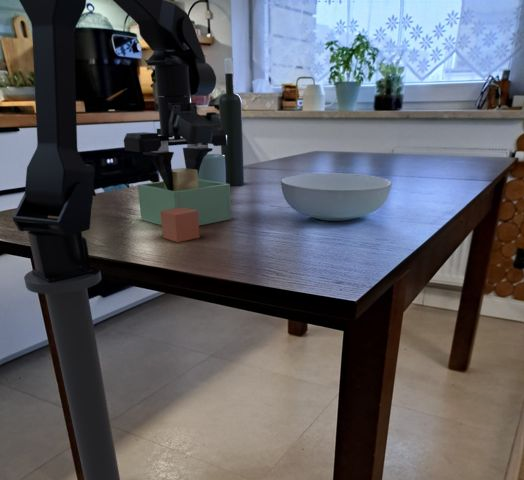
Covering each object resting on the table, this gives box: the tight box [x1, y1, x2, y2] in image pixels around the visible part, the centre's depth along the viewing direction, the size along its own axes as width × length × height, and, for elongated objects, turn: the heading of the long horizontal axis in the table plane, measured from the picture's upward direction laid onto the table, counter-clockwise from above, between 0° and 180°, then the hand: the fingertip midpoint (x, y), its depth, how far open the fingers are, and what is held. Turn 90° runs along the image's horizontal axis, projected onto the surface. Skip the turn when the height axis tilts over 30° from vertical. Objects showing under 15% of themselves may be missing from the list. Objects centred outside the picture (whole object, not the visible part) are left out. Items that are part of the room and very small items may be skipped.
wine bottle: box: [218, 57, 245, 187], centre depth 134 cm, size 6×6×30 cm
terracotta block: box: [160, 207, 201, 243], centre depth 87 cm, size 4×4×4 cm
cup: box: [198, 153, 226, 183], centre depth 115 cm, size 8×8×10 cm
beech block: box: [165, 167, 198, 191], centre depth 96 cm, size 4×4×4 cm
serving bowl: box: [280, 172, 393, 222], centre depth 100 cm, size 21×21×7 cm
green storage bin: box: [136, 179, 232, 227], centre depth 100 cm, size 13×13×7 cm
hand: (181, 189), depth 96 cm, fingers closed on beech block, 4 cm apart
